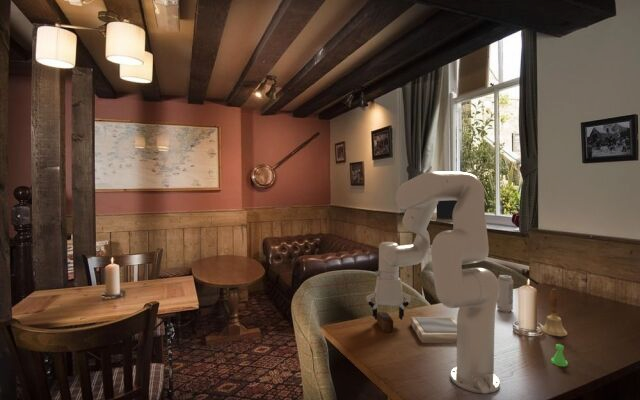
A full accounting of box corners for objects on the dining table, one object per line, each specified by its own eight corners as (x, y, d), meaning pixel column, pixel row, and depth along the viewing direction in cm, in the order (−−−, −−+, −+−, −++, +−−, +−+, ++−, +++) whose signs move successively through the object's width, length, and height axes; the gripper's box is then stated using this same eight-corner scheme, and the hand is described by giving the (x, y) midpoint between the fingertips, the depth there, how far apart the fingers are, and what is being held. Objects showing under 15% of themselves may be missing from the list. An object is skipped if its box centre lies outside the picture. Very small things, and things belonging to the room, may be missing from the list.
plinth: (468, 342, 124) (468, 333, 124) (422, 342, 124) (422, 333, 124) (451, 324, 140) (452, 316, 140) (410, 324, 140) (410, 316, 140)
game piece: (549, 363, 110) (549, 343, 110) (552, 358, 113) (553, 339, 113) (565, 368, 107) (566, 348, 107) (569, 363, 110) (569, 343, 110)
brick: (393, 332, 133) (393, 320, 133) (383, 333, 133) (383, 320, 133) (386, 321, 144) (386, 310, 143) (376, 322, 143) (376, 310, 143)
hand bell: (538, 332, 133) (539, 289, 132) (543, 325, 139) (544, 284, 138) (565, 338, 127) (566, 294, 126) (569, 331, 133) (570, 288, 132)
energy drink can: (499, 307, 159) (500, 273, 158) (514, 310, 155) (515, 276, 154) (494, 310, 155) (495, 276, 154) (510, 314, 151) (510, 278, 150)
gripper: (367, 277, 134) (366, 322, 135) (413, 277, 134) (413, 322, 135) (364, 271, 141) (364, 314, 142) (408, 272, 141) (408, 314, 142)
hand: (388, 318), depth 139 cm, fingers open, 9 cm apart
